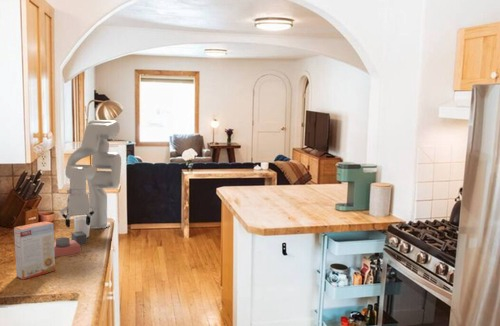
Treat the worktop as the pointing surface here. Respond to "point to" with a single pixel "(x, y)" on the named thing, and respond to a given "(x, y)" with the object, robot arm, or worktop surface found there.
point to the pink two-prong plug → (66, 247)
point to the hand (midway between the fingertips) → (78, 225)
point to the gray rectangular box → (79, 237)
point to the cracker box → (34, 249)
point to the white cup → (81, 225)
